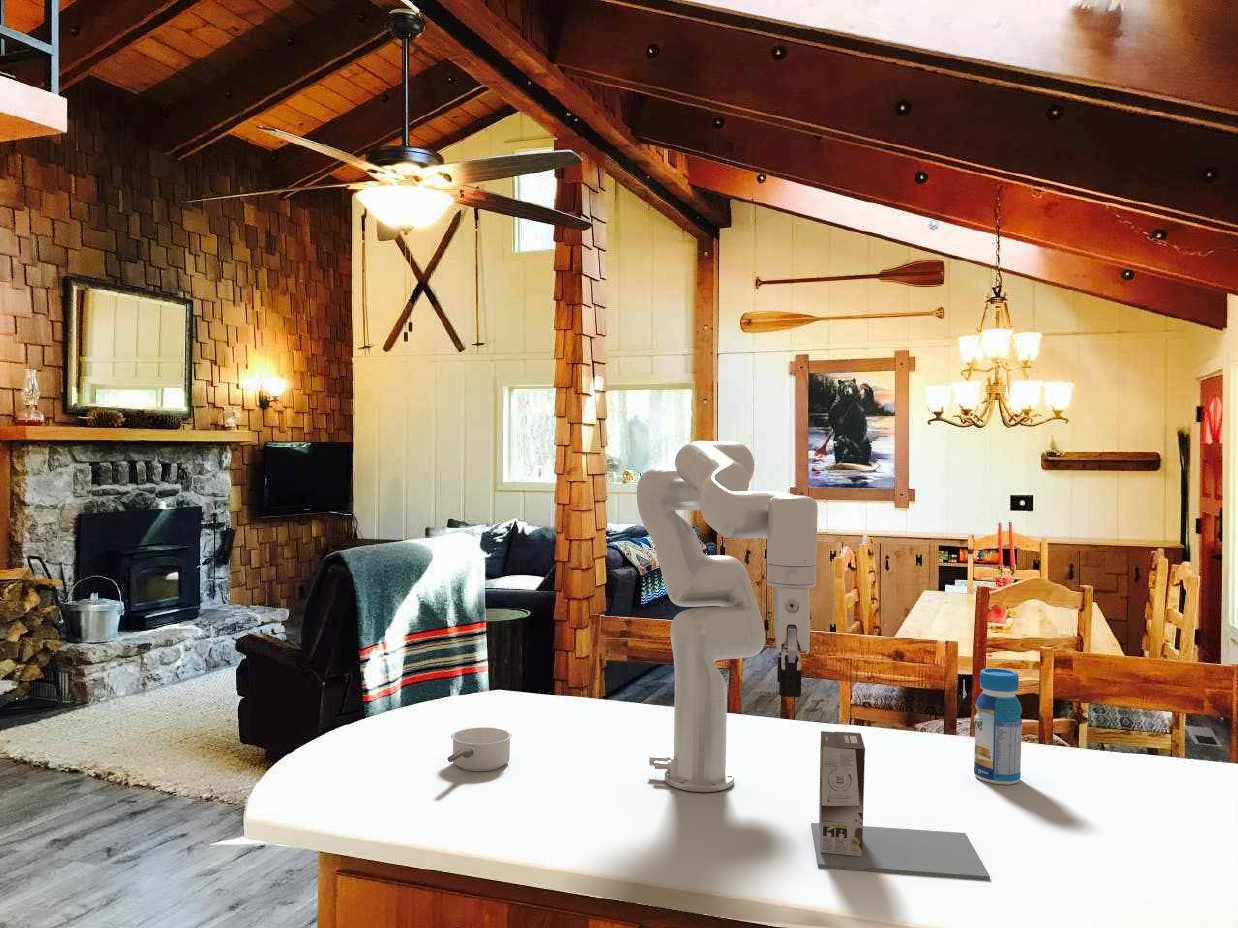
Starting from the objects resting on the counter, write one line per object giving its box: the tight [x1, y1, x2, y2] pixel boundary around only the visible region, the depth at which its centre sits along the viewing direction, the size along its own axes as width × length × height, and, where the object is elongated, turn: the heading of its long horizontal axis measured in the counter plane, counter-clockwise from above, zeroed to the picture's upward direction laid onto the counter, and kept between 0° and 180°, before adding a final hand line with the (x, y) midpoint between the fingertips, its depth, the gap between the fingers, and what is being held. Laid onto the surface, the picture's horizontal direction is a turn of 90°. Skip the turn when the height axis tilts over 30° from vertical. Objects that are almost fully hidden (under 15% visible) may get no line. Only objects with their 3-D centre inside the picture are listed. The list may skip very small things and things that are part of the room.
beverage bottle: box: [973, 667, 1024, 786], centre depth 183 cm, size 8×8×20 cm
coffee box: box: [818, 730, 866, 857], centre depth 149 cm, size 9×6×16 cm
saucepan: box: [447, 726, 513, 772], centre depth 182 cm, size 12×20×6 cm, turn 165°
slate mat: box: [810, 822, 991, 881], centre depth 148 cm, size 24×16×1 cm, turn 82°
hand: (788, 688), depth 150 cm, fingers open, 8 cm apart
